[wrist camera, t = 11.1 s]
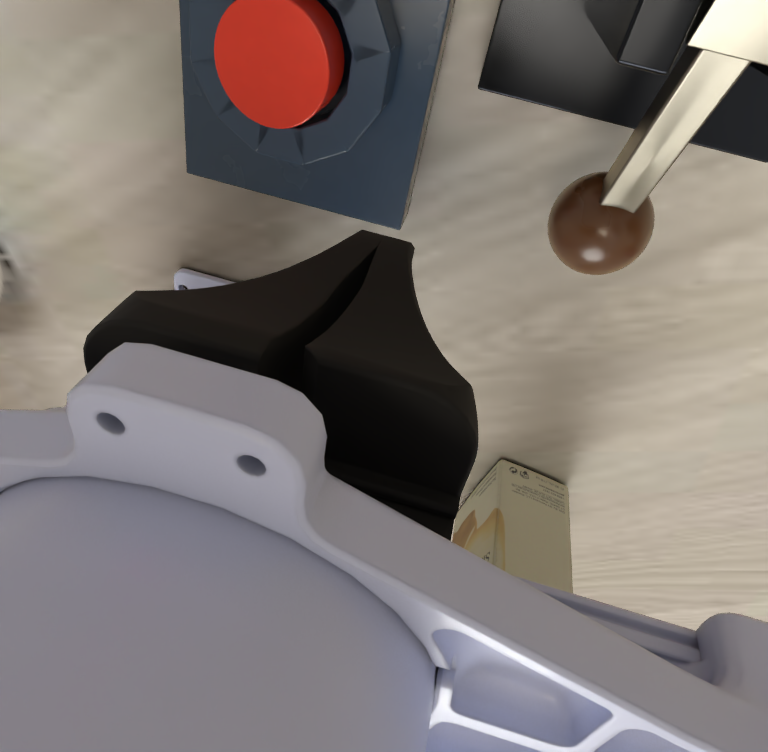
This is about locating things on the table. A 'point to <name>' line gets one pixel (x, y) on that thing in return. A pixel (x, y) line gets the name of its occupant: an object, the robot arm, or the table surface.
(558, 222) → the lever
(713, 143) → the switch bracket
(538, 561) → the cosmetic box
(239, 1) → the button
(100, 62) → the table surface
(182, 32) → the button box
